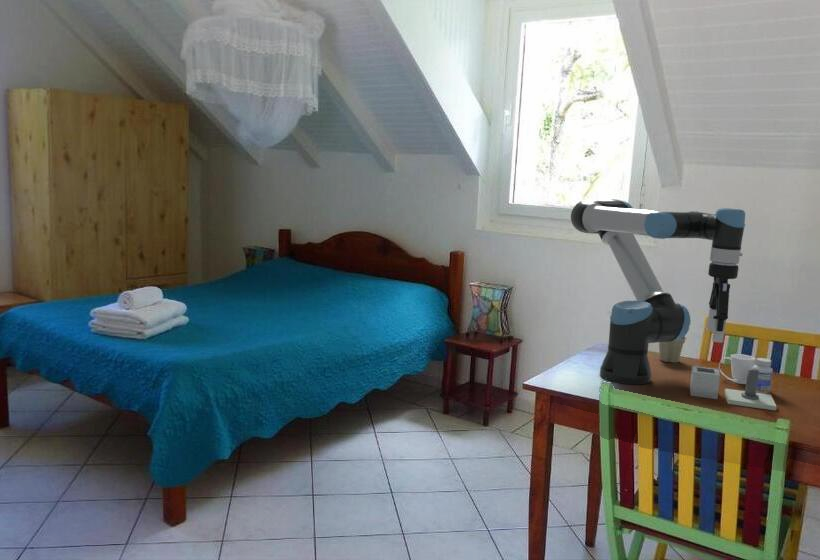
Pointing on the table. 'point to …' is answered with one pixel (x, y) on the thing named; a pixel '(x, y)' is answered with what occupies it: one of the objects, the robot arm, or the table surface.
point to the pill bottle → (763, 375)
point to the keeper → (750, 394)
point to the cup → (739, 367)
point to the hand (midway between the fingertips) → (714, 336)
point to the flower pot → (671, 350)
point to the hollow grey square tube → (704, 382)
